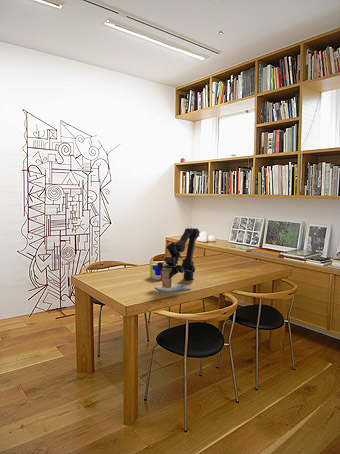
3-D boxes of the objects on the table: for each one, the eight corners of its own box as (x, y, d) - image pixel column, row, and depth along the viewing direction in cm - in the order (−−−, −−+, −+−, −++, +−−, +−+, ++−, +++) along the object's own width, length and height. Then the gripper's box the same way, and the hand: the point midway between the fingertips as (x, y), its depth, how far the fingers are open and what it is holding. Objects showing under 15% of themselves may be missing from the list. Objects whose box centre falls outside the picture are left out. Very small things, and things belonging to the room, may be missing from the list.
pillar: (165, 286, 227) (165, 267, 226) (171, 287, 225) (171, 268, 224) (162, 287, 223) (162, 268, 222) (168, 288, 221) (168, 269, 220)
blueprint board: (182, 285, 237) (182, 281, 237) (190, 289, 226) (190, 286, 226) (155, 288, 228) (155, 284, 227) (162, 292, 217) (162, 289, 217)
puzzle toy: (157, 279, 250) (157, 266, 250) (150, 277, 259) (150, 264, 258) (168, 278, 256) (168, 265, 255) (160, 275, 264) (160, 263, 263)
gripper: (158, 250, 230) (149, 269, 221) (182, 253, 221) (174, 273, 212) (164, 260, 238) (155, 278, 229) (187, 263, 228) (179, 282, 220)
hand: (165, 278), depth 222 cm, fingers closed on pillar, 4 cm apart
